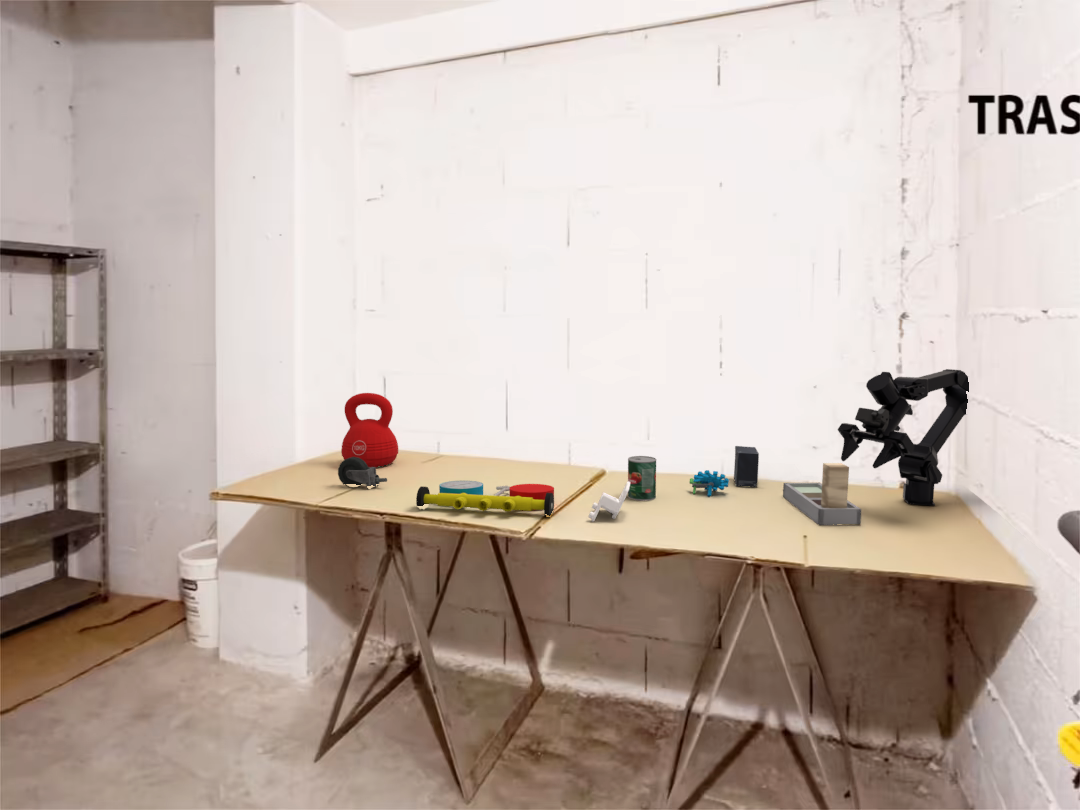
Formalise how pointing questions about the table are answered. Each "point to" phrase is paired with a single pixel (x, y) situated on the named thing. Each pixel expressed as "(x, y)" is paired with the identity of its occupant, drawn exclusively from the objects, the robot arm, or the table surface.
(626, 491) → the mounting bracket
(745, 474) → the small box
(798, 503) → the tray
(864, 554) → the table surface
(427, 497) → the hvac manifold gauge set
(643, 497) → the canned tomato
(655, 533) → the table surface
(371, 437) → the kettlebell
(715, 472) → the blue spiky toy
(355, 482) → the caster wheel
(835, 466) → the beech block
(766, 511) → the table surface
